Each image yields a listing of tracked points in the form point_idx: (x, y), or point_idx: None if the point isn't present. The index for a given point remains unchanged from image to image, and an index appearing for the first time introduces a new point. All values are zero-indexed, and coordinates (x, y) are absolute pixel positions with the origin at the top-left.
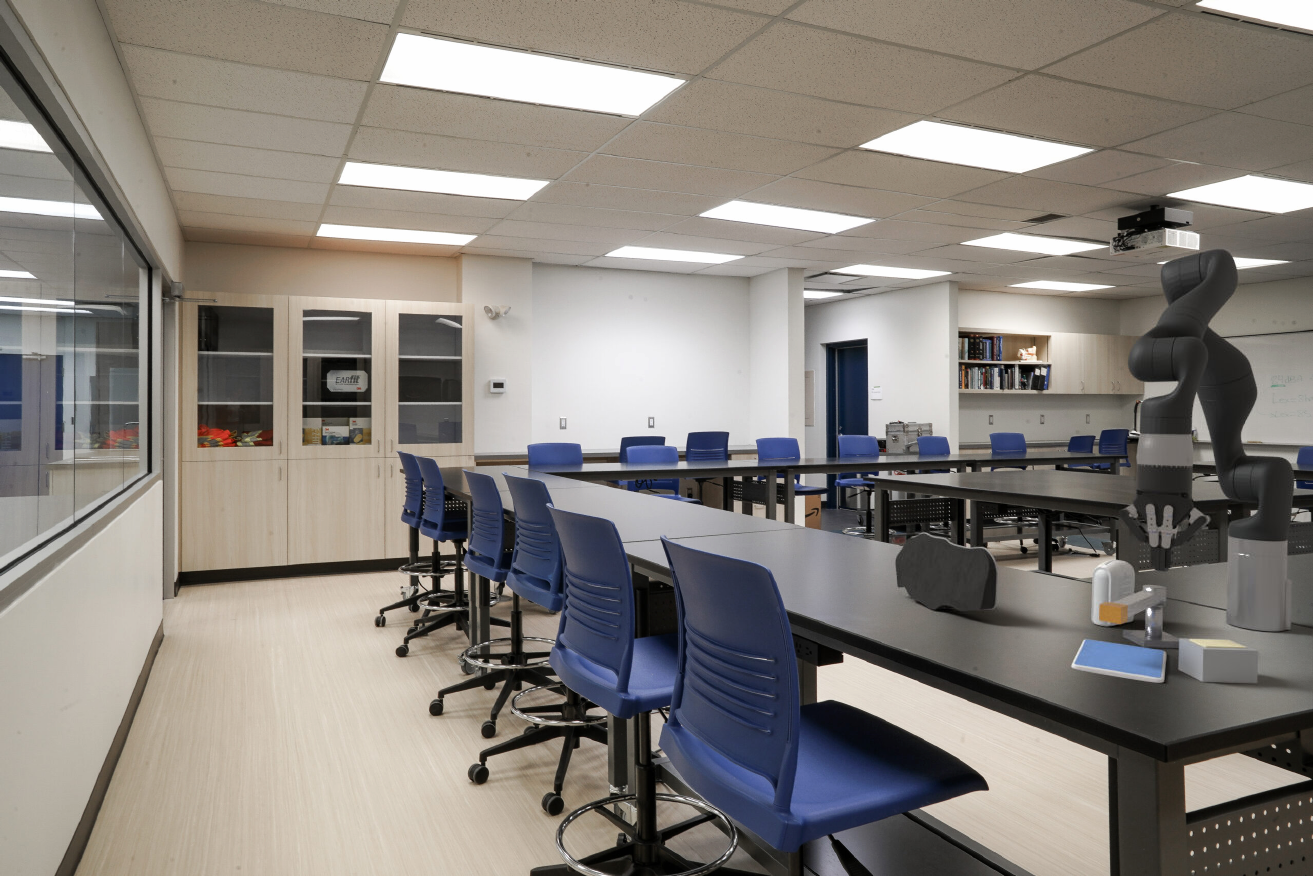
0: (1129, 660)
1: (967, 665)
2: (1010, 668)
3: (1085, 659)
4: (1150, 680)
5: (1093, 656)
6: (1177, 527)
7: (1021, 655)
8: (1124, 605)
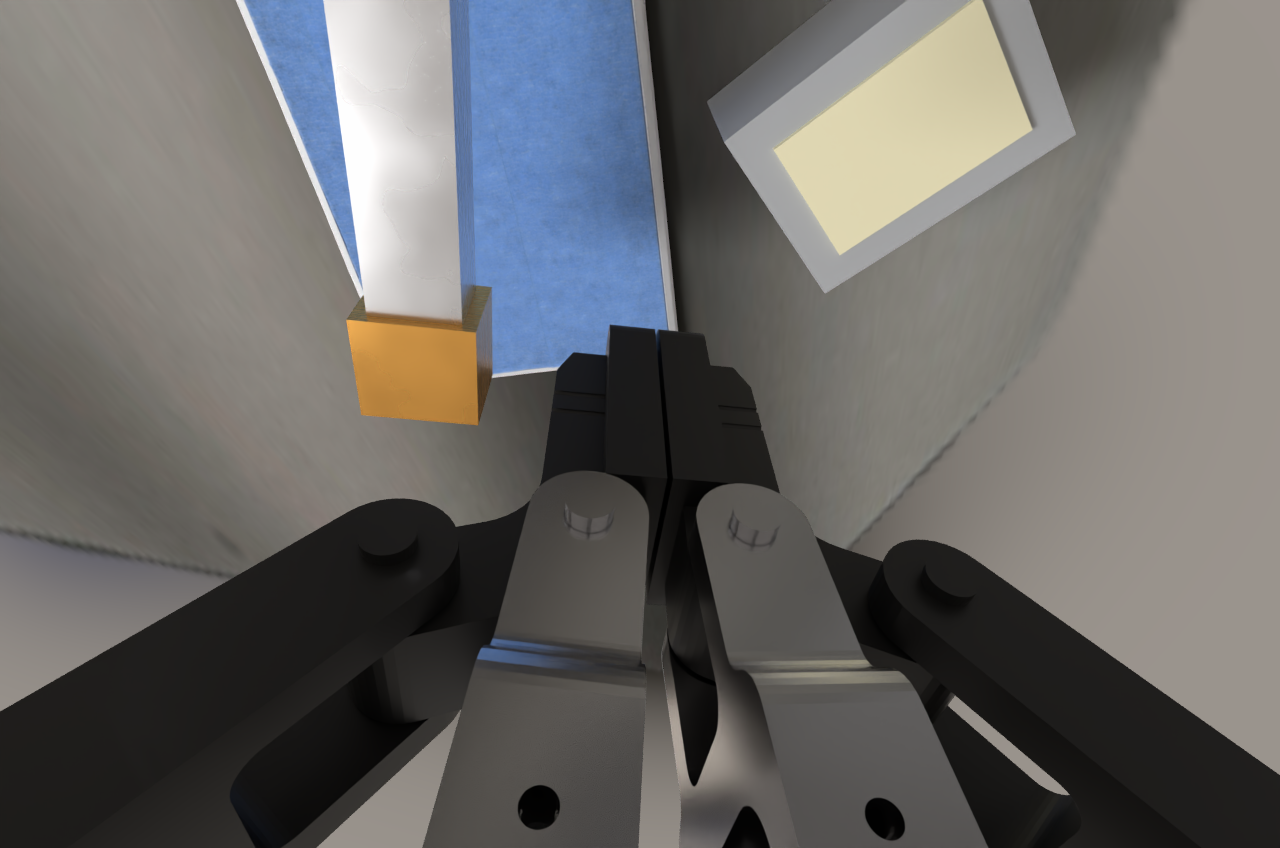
0: (523, 173)
1: (194, 534)
2: (283, 489)
3: None
4: None
5: None
6: (938, 769)
7: (194, 337)
8: (465, 352)
